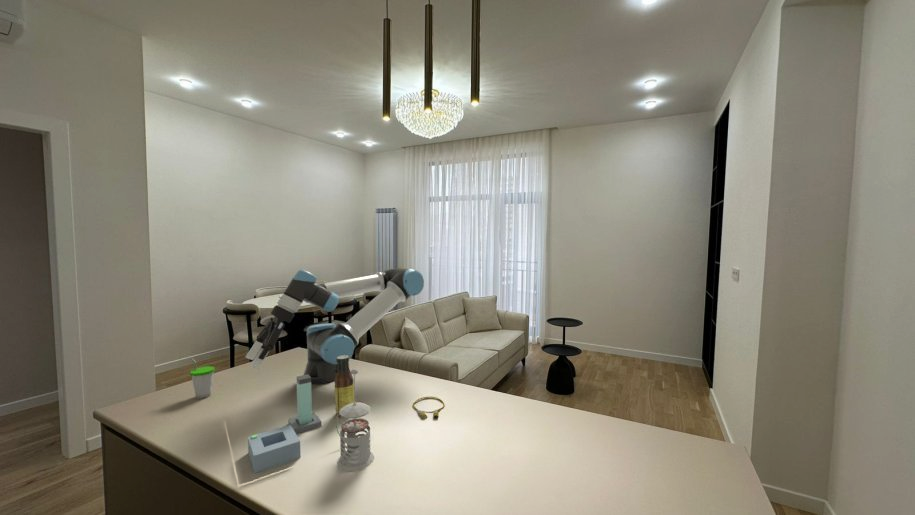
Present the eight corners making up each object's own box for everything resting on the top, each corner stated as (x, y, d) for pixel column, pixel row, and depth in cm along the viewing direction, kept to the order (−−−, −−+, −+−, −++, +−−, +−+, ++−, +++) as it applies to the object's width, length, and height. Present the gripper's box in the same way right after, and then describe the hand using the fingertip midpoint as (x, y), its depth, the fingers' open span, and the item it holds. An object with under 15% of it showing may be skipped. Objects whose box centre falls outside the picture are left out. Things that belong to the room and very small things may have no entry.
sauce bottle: (358, 412, 124) (357, 355, 123) (346, 420, 119) (345, 361, 118) (344, 408, 127) (343, 353, 126) (331, 416, 121) (329, 358, 120)
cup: (219, 394, 139) (218, 356, 138) (196, 402, 132) (194, 362, 131) (210, 390, 143) (208, 353, 142) (187, 397, 136) (185, 358, 136)
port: (291, 441, 107) (290, 423, 106) (300, 459, 98) (300, 439, 97) (248, 454, 100) (247, 435, 100) (254, 475, 91) (253, 454, 91)
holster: (314, 417, 121) (314, 411, 120) (321, 427, 114) (321, 421, 114) (288, 425, 116) (288, 419, 116) (294, 435, 109) (294, 429, 109)
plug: (309, 420, 117) (308, 374, 117) (312, 425, 115) (311, 377, 114) (297, 424, 115) (296, 376, 115) (300, 428, 113) (299, 380, 112)
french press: (354, 476, 91) (352, 378, 89) (324, 461, 97) (322, 369, 96) (381, 456, 99) (380, 366, 98) (352, 443, 105) (351, 359, 104)
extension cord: (402, 417, 122) (402, 411, 122) (420, 397, 137) (420, 392, 137) (436, 422, 118) (436, 416, 118) (451, 402, 133) (451, 396, 133)
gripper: (270, 301, 141) (237, 351, 135) (283, 307, 121) (245, 367, 115) (288, 309, 145) (256, 359, 139) (303, 317, 125) (267, 375, 118)
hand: (251, 363), depth 127 cm, fingers open, 13 cm apart
